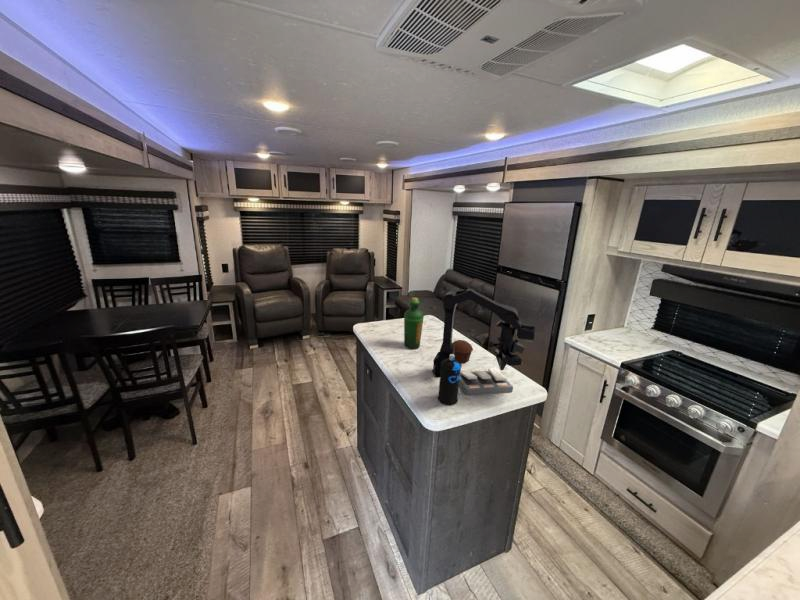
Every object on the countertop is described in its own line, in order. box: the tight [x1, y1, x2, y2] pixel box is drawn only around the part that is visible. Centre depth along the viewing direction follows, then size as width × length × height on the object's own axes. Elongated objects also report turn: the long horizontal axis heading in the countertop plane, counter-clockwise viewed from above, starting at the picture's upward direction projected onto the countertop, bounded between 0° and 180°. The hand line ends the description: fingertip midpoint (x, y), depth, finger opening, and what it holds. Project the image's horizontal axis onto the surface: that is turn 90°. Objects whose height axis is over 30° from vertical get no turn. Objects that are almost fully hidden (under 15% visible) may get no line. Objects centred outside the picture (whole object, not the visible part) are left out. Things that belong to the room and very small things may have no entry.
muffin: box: [452, 339, 474, 364], centre depth 159 cm, size 12×11×10 cm
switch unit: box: [459, 370, 514, 396], centre depth 138 cm, size 21×14×3 cm, turn 100°
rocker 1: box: [460, 371, 477, 379], centre depth 137 cm, size 4×8×2 cm, turn 10°
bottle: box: [403, 297, 425, 350], centre depth 168 cm, size 11×11×28 cm
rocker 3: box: [487, 367, 506, 381], centre depth 139 cm, size 4×8×2 cm, turn 10°
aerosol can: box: [437, 354, 463, 406], centre depth 123 cm, size 8×8×20 cm
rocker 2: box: [474, 370, 491, 379], centre depth 138 cm, size 4×8×2 cm, turn 10°
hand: (501, 369), depth 135 cm, fingers closed
